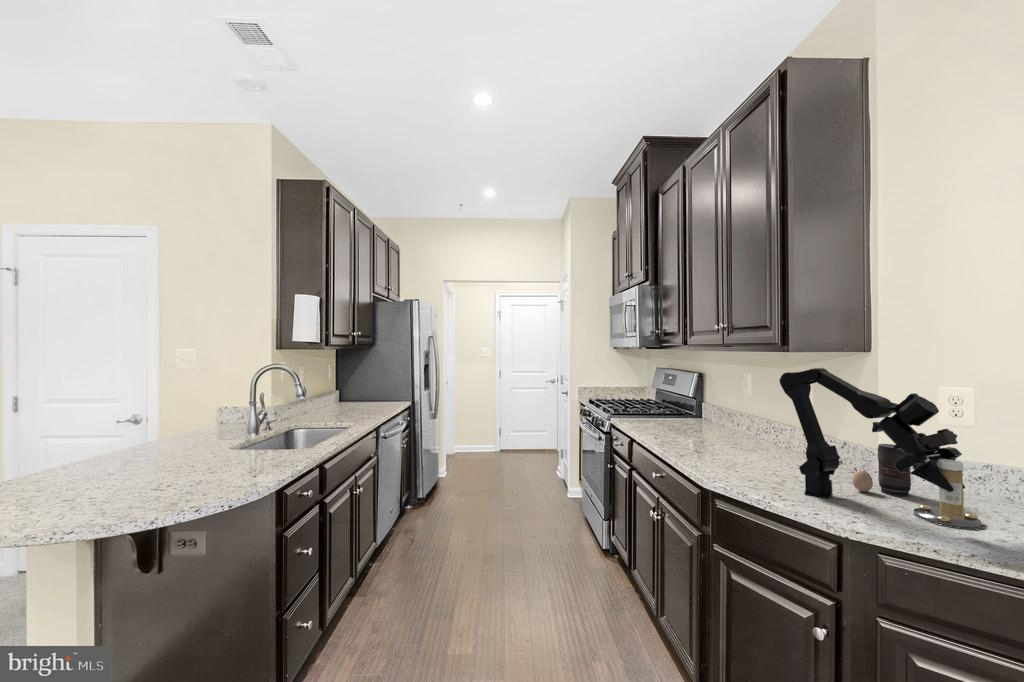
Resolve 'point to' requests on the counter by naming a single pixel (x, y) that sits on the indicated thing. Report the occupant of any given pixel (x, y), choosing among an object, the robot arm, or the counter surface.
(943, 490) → the sprinkles bottle
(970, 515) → the tribrach plate
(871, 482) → the egg
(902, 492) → the camera lens
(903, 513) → the counter surface
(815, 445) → the robot arm
